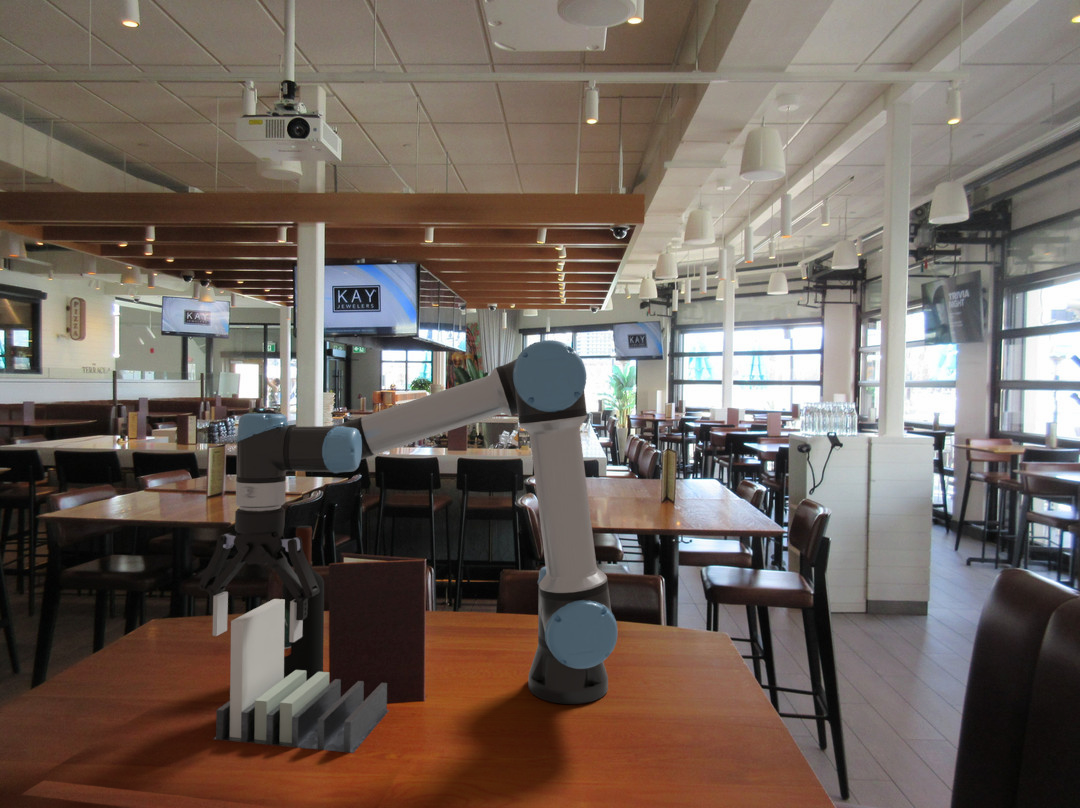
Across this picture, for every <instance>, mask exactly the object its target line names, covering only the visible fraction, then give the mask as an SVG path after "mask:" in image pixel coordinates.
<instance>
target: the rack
mask: <svg viewBox="0 0 1080 808" xmlns="http://www.w3.org/2000/svg"><path fill="white" fill-rule="evenodd" d="M341 683H342V681H341V679H340V678H335V679H333V680H332V681H331V682H329V685H328V686H327V687H326V688H324V689H323V690H322V691H321V692H320V693H319V694H318V695H317V696H315V697H314V698H313V699H312V700H311V701H310V702H309V703H307V704H306V705H305V706H304V707H303V708H302V709H301V710H299V711H298V712H297V713H296V714H295V715H294V716H293V717H292V743H287V742H280V704H279V705H278V706H276V707H275V708H274V709H273V710H272V711H270V712H269V713H268V714H267V723H266V740H257V739H254V733H255V702H254V703H253V704H252V705H250V706H249V707H248V708H246V709H245V710H244V711H242V712H241V738H236V737H230V700H228V701H227V702H226V703H224V704H222V706H220V707H219V708H217V709H216V711H215V712H216V715H215V717H216V721H215V722H216V725H215V727H216V729H215V733H216V734H215V737H214V738H213V740H219V741H227V742H238V743H247V744H248V743H249V744H258V745H269V746H278V747H279V746H280V747H287V748H288V747H290V748H300V749H307V750H308V749H310V750H319V751H330V752H340V753H351V754H354V753H355V752H356V750H357V749H358V748H359V747H360V746H361V745H362V744H363V742H364V741H366V739H367V738H368V736H369V735H371V733H372V731H373V730H374V729H375V728H377V726H378V725H379V723H380V722H381V721H382V720H383V719H384V718H385V716H386V715H387V714H388V713H389V712H390V709H388V706H387V705H388V683H387V682H380V684H379V685H378V686H376V688H375V689H374V690H373V691H372V692H371V693H370V694H369V695H368V696H367V697H366V698H365V699H364V697H365V696H364V692H365V691H364V688H365V687H364V686H365V683H364V680H357V682H355V683H354V684H353V685H352V686H351V687H350V688H349V689H348V690H347V691H346V692H345V693H344V694H343V695H342V696H341V694H342V693H341V690H342V689H341V687H342V685H341Z"/></svg>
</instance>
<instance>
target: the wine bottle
mask: <svg viewBox="0 0 1080 808" xmlns="http://www.w3.org/2000/svg"><path fill="white" fill-rule="evenodd" d="M312 536H313V529H312V525H300V526H296V530H295V538H296V537H301V539H302V545H303V552H304V554H305V556H306V559H307V561H308V563H309V566H310V568H311V570H312V573H313V575H314V577H315V580H316V582H317V584H318V587H319V589H320V592H319V593H318V594H316V595H314V596H313V597H311V598H308V611H307V612H308V614H307V617H306V618H305V619H303V630H302V637H301V638H300V639H298V640H297V641H295V642H289V635H290V601H292V600H294V599H295V598H294V597H293V595H292V594H291V593H290V591H289V590H288V588H287V587H286V586H285V584H284V583H283V582H282V588H281V599H285V624H284V678H285V677H287V676H288V675H289V674H291V673H292V672H293V671H295V670H305V671H307V673H306V681H307V680H309V679H310V678H311V677H312V676H314V675H315V674H316V673H317V672H324V644H325V643H324V637H325V636H324V633H325V632H324V630H325V629H324V628H325V624H324V623H325V622H324V621H325V619H324V618H325V611H324V610H325V581H324V579H323V577H322V576H321V574H319V573H318V572H317V571H315V570H314V569H313V565H312ZM294 572H295V570H294ZM295 573H296V572H295ZM296 575H297V574H296Z"/></svg>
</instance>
